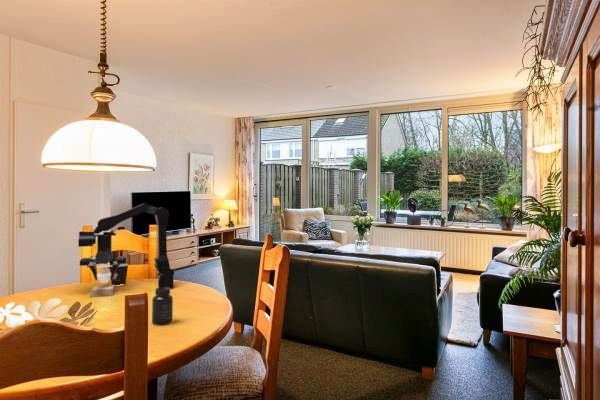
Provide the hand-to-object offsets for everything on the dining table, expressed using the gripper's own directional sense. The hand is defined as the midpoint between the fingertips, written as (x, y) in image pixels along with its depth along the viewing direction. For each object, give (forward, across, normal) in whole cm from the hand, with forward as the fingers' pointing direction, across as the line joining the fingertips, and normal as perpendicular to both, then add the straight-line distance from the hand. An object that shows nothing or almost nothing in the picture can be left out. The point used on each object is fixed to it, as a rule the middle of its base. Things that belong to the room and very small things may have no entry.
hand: (104, 279), depth 165 cm
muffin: (+2, 0, 0) cm, 2 cm away
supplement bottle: (+7, +26, -50) cm, 57 cm away
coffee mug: (+7, +3, +20) cm, 21 cm away
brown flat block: (+7, 0, 0) cm, 7 cm away
